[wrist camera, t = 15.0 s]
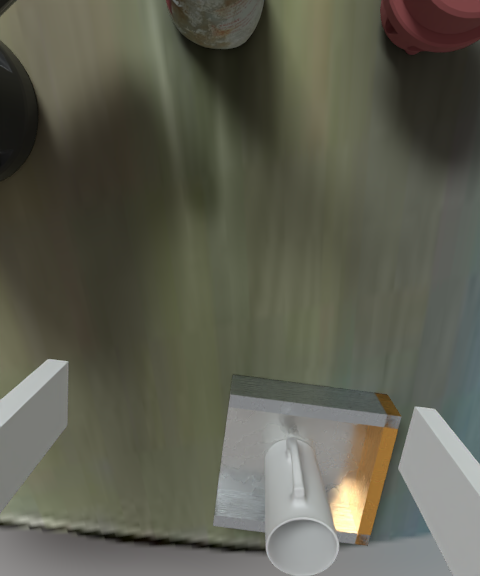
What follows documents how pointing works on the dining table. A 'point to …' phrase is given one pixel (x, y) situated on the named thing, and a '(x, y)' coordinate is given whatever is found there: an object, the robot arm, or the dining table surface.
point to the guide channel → (319, 436)
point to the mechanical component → (431, 24)
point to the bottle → (216, 20)
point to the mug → (297, 511)
